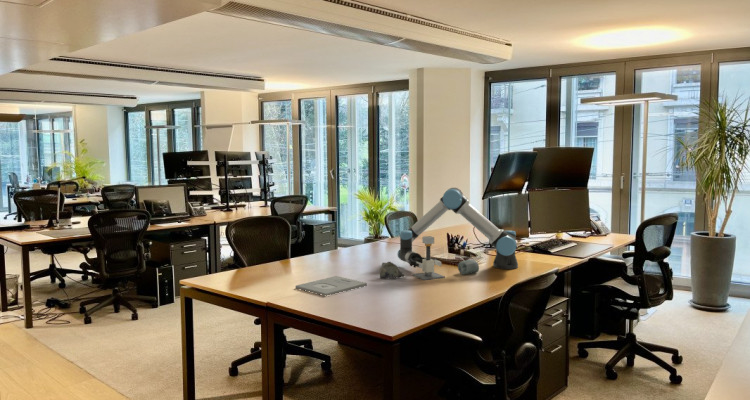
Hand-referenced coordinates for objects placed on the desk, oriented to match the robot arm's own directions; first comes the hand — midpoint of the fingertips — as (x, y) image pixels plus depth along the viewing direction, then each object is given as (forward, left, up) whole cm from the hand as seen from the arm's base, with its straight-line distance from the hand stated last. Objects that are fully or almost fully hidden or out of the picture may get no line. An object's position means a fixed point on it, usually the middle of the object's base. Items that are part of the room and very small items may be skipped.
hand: (431, 265), depth 327 cm
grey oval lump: (-13, -22, -8) cm, 26 cm away
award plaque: (+34, +49, -8) cm, 60 cm away
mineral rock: (+18, +15, -8) cm, 25 cm away
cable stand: (+3, -2, -7) cm, 8 cm away
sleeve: (+3, -2, -5) cm, 6 cm away
